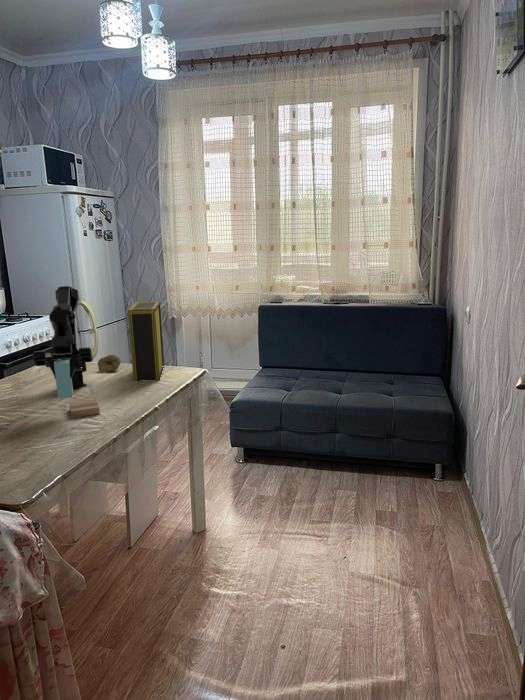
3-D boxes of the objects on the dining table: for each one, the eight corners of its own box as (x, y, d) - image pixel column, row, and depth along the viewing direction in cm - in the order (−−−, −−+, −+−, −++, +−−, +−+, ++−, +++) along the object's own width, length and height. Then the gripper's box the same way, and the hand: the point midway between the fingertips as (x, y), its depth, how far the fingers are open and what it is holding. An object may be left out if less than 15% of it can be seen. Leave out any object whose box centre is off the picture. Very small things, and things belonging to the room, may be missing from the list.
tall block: (59, 394, 181) (55, 360, 178) (73, 393, 182) (69, 359, 179) (58, 398, 177) (54, 363, 174) (72, 397, 178) (68, 362, 175)
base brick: (69, 410, 186) (69, 403, 185) (96, 406, 189) (95, 399, 189) (72, 418, 178) (71, 411, 177) (99, 414, 181) (99, 407, 181)
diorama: (140, 368, 237) (135, 302, 230) (164, 367, 238) (160, 301, 231) (133, 382, 217) (127, 309, 210) (159, 380, 218) (154, 308, 211)
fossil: (95, 357, 235) (118, 351, 236) (98, 363, 238) (120, 356, 240) (99, 374, 230) (122, 367, 232) (102, 379, 234) (124, 372, 236)
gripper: (29, 328, 175) (28, 368, 168) (88, 324, 180) (90, 363, 172) (35, 345, 185) (35, 385, 177) (91, 341, 189) (93, 380, 182)
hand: (63, 378), depth 177 cm, fingers closed on tall block, 4 cm apart
